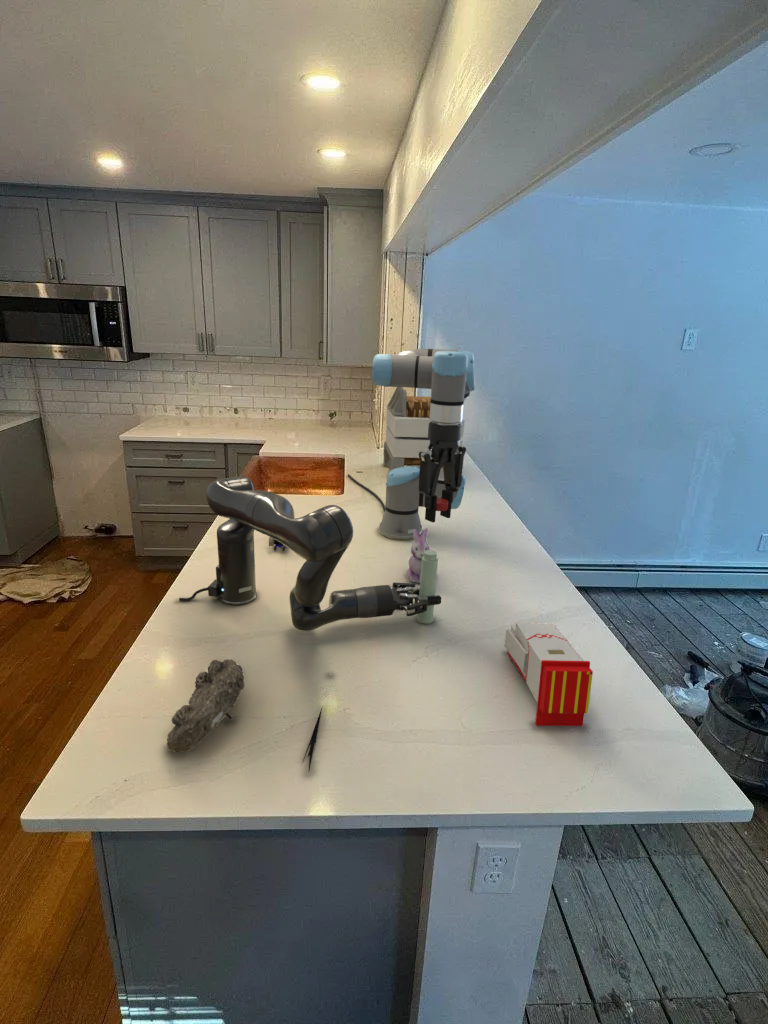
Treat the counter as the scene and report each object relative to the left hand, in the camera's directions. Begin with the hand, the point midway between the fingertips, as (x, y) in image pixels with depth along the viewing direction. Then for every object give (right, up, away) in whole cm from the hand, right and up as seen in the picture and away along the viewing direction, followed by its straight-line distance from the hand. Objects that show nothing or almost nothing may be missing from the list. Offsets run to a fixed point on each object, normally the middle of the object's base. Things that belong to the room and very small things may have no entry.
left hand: (437, 595), depth 144 cm
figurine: (-3, +2, +24) cm, 25 cm away
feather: (-26, -19, -35) cm, 48 cm away
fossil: (-46, -18, -36) cm, 61 cm away
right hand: (-1, +20, -8) cm, 21 cm away
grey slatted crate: (+4, +40, +131) cm, 137 cm away
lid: (0, +23, -9) cm, 25 cm away
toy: (+20, -16, -22) cm, 33 cm away
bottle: (-3, -6, +1) cm, 7 cm away
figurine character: (-47, +10, +42) cm, 64 cm away
